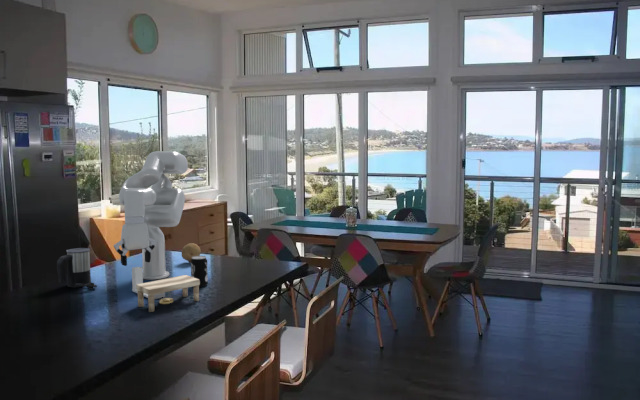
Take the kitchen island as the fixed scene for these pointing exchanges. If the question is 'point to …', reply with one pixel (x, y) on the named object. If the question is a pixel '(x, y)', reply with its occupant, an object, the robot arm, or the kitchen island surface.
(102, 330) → the kitchen island surface
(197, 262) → the beverage can
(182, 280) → the low shelf
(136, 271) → the white l-shaped block
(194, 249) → the natural sponge
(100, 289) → the kitchen island surface
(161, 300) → the gold metal disc
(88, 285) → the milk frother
